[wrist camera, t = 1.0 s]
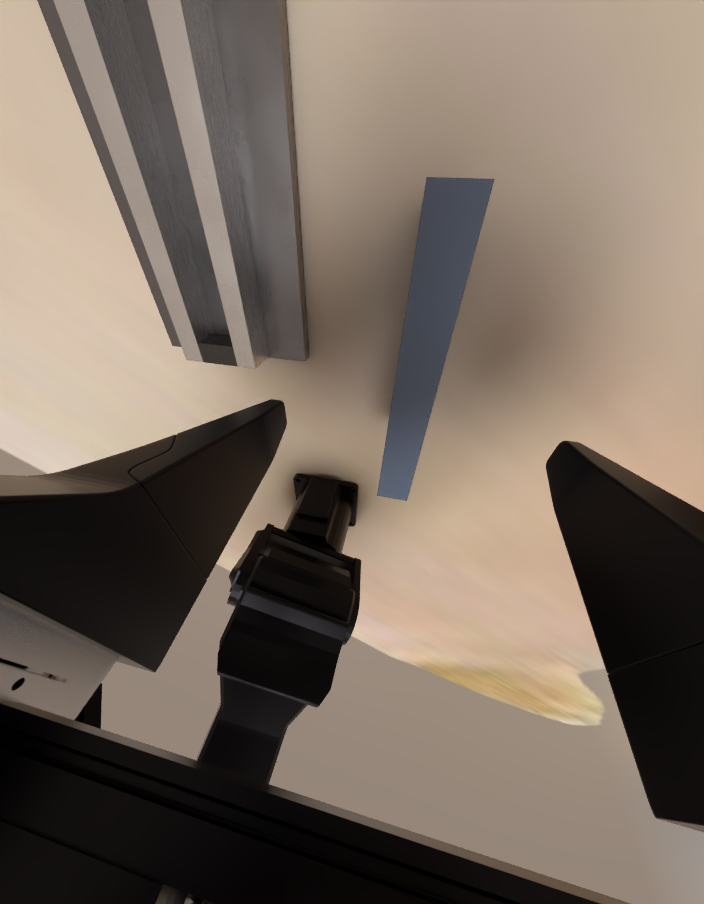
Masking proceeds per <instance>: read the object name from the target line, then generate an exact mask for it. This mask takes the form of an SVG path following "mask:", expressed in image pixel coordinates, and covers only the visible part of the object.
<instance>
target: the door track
mask: <svg viewBox="0 0 704 904" xmlns="http://www.w3.org/2000/svg"><path fill="white" fill-rule="evenodd" d="M38 3H39V6H40V8H41V11H42V13H43V16H44V18H45V21H46V23H47V26H48V29H49V31H50V34H51V36H52V39H53V41H54V44H55V46H56V49H57V52H58V54H59V57H60V59H61V62H62V64H63V67H64V69H65V72H66V75H67V77H68V80H69V82H70V85H71V87H72V90H73V92H74V95H75V98H76V100H77V103H78V105H79V108H80V110H81V113H82V115H83V118H84V121H85V123H86V126H87V128H88V131H89V133H90V136H91V139H92V141H93V144H94V146H95V149H96V151H97V154H98V156H99V159H100V162H101V164H102V167H103V169H104V172H105V174H106V177H107V179H108V182H109V185H110V187H111V190H112V192H113V195H114V197H115V200H116V202H117V205H118V208H119V210H120V213H121V215H122V218H123V220H124V223H125V225H126V228H127V231H128V233H129V236H130V238H131V241H132V243H133V246H134V248H135V251H136V254H137V256H138V259H139V261H140V264H141V266H142V269H143V271H144V274H145V277H146V279H147V282H148V284H149V287H150V289H151V292H152V294H153V297H154V300H155V302H156V305H157V307H158V310H159V312H160V315H161V317H162V320H163V323H164V325H165V328H166V330H167V333H168V335H169V338H170V340H171V343H172V346H179V347H182V349H183V352H184V354H185V357H186V360H191V361H199V362H207V363H215V364H223V365H231V366H239V367H247V368H257V367H258V366H259V365H260V364H261V363H263V362H264V361H265V360H266V359H267V358H269V357H271V358H280V359H288V360H297V361H306V360H307V359H308V358H309V349H308V334H307V318H306V303H305V288H304V273H303V257H302V242H301V227H300V212H299V196H298V181H297V166H296V151H295V135H294V120H293V105H292V90H291V74H290V59H289V44H288V28H287V13H286V0H38Z"/></svg>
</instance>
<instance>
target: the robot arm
mask: <svg viewBox="0 0 704 904" xmlns="http://www.w3.org/2000/svg"><path fill="white" fill-rule="evenodd" d="M286 425H287V420H286V413H285V406H284V403H283V402H282V401H280V400H273V399H271V400H268V401H265V402H263V403H260V404H257V405H254V406H252V407H249V408H246V409H244V410H241V411H238V412H235V413H233V414H230V415H227V416H224V417H222V418H219V419H216V420H214V421H211V422H208V423H205V424H203V425H200V426H197V427H194V428H192V429H189V430H186V431H184V432H181V433H178V434H177V435H173V436H170V437H167V438H164V439H162V440H159V441H156V442H153V443H150V444H147V445H145V446H141V447H138V448H135V449H132V450H129V451H126V452H123V453H120V454H116V455H113V456H110V457H107V458H104V459H100V460H97V461H94V462H91V463H88V464H84V465H81V466H78V467H75V468H71V469H68V470H64V471H61V472H56V473H51V474H44V475H35V476H11V475H0V904H630V903H627V902H624V901H621V900H618V899H615V898H612V897H609V896H606V895H603V894H600V893H597V892H594V891H591V890H588V889H585V888H582V887H579V886H576V885H573V884H570V883H567V882H563V881H561V880H557V879H554V878H551V877H548V876H545V875H542V874H539V873H536V872H533V871H530V870H527V869H524V868H521V867H518V866H515V865H512V864H509V863H506V862H503V861H499V860H497V859H494V858H490V857H488V856H485V855H482V854H479V853H476V852H473V851H469V850H466V849H463V848H460V847H457V846H454V845H451V844H448V843H445V842H442V841H439V840H436V839H433V838H430V837H427V836H424V835H421V834H418V833H415V832H412V831H409V830H406V829H402V828H400V827H397V826H393V825H390V824H388V823H384V822H381V821H378V820H375V819H372V818H369V817H366V816H363V815H360V814H357V813H354V812H351V811H348V810H345V809H342V808H339V807H336V806H333V805H330V804H327V803H324V802H321V801H318V800H315V799H312V798H309V797H306V796H303V795H300V794H296V793H293V792H290V791H287V790H284V789H281V788H278V787H275V786H272V785H269V781H270V778H271V775H272V772H273V769H274V766H275V763H276V760H277V756H278V754H279V750H280V747H281V744H282V741H283V738H284V735H285V733H286V730H287V727H288V726H289V724H290V723H291V722H292V721H293V720H294V719H295V718H296V717H297V716H298V715H299V714H300V713H301V712H302V710H303V709H304V708H305V707H306V706H307V705H311V706H313V707H318V706H319V705H320V704H321V703H322V701H323V700H324V698H325V697H326V695H327V694H328V692H329V691H330V689H331V685H332V681H333V677H334V672H335V668H336V664H337V660H338V657H339V653H340V650H341V647H342V645H345V644H346V643H347V641H348V640H349V638H350V636H351V634H352V632H353V629H354V626H355V623H356V620H357V615H358V610H359V601H360V573H361V560H360V559H357V558H352V557H349V556H347V555H344V554H342V550H343V546H344V541H345V537H346V533H347V529H348V526H355V523H356V513H357V501H358V489H359V488H358V486H357V485H356V484H352V483H347V482H341V481H335V480H329V479H324V478H318V477H312V476H307V475H301V474H296V475H295V477H294V479H293V480H294V487H295V494H296V500H297V501H296V503H295V506H294V508H293V510H292V512H291V514H290V516H289V519H288V521H287V523H286V525H285V527H284V529H283V530H281V529H279V528H276V527H274V525H272V524H269V523H268V524H267V526H266V528H265V530H259V531H257V532H256V534H255V536H254V538H253V539H252V541H251V543H250V545H249V546H248V548H247V550H246V551H245V552H244V554H243V555H242V557H241V558H240V559H239V561H238V562H237V564H236V565H235V566H234V568H233V569H232V571H231V573H230V575H229V579H230V582H231V585H232V586H231V588H230V592H231V593H230V596H229V598H228V601H227V604H229V605H232V606H235V609H234V611H233V613H232V616H231V618H230V620H229V622H228V624H227V626H226V628H225V631H224V633H223V635H222V637H221V640H220V645H219V646H220V649H219V652H218V666H217V674H218V675H220V686H221V687H220V688H221V703H220V705H219V708H218V710H217V712H216V715H215V717H214V719H213V722H212V724H211V726H210V729H209V731H208V733H207V736H206V738H205V740H204V743H203V745H202V747H201V750H200V752H199V755H198V757H197V759H196V760H193V759H190V758H187V757H184V756H181V755H178V754H175V753H172V752H169V751H166V750H163V749H160V748H156V747H154V746H151V745H148V744H145V743H141V742H139V741H135V740H133V739H130V738H127V737H123V736H120V735H117V734H114V733H111V732H108V731H105V730H102V729H101V699H102V684H101V682H102V680H103V679H104V678H105V676H106V675H107V673H108V672H109V671H110V669H111V668H112V666H113V665H114V664H115V662H116V661H117V662H121V663H124V664H127V665H131V666H134V667H138V668H141V669H145V670H148V671H152V672H156V670H157V669H158V667H159V666H160V664H161V662H162V661H163V659H164V657H165V655H166V653H167V652H168V650H169V648H170V646H171V644H172V642H173V640H174V639H175V637H176V635H177V633H178V632H179V630H180V628H181V626H182V624H183V623H184V621H185V619H186V617H187V615H188V614H189V612H190V610H191V608H192V606H193V604H194V602H195V601H196V599H197V597H198V595H199V594H200V592H201V590H202V588H203V586H204V585H205V583H206V581H207V578H208V577H209V575H210V573H211V571H212V570H213V568H214V566H215V564H216V562H217V561H218V559H219V557H220V555H221V553H222V552H223V550H224V548H225V546H226V544H227V543H228V541H229V539H230V537H231V535H232V533H233V532H234V530H235V528H236V526H237V524H238V523H239V521H240V519H241V517H242V515H243V514H244V512H245V510H246V508H247V506H248V504H249V503H250V501H251V499H252V497H253V495H254V494H255V492H256V490H257V488H258V486H259V485H260V483H261V481H262V479H263V477H264V476H265V474H266V472H267V470H268V468H269V466H270V465H271V463H272V461H273V458H274V456H275V454H276V451H277V449H278V446H279V444H280V441H281V439H282V436H283V434H284V431H285V429H286ZM546 470H547V476H548V481H549V486H550V492H551V497H552V502H553V507H554V511H555V514H556V517H557V520H558V524H559V527H560V530H561V533H562V536H563V539H564V542H565V545H566V548H567V551H568V554H569V557H570V560H571V564H572V567H573V570H574V573H575V576H576V579H577V582H578V585H579V588H580V591H581V594H582V597H583V601H584V604H585V607H586V610H587V613H588V616H589V619H590V622H591V625H592V628H593V631H594V634H595V637H596V641H597V644H598V647H599V650H600V653H601V656H602V659H603V662H604V665H605V668H606V671H607V673H608V678H609V681H610V684H611V687H612V690H613V693H614V697H615V700H616V702H617V706H618V709H619V712H620V715H621V718H622V721H623V724H624V728H625V730H626V733H627V737H628V740H629V743H630V746H631V749H632V752H633V755H634V758H635V762H636V765H637V768H638V771H639V774H640V777H641V780H642V783H643V786H644V789H645V792H646V795H647V799H648V801H649V804H650V807H651V809H652V811H653V814H654V816H655V817H656V818H657V819H660V820H664V821H667V822H670V823H674V824H677V825H681V826H684V827H688V828H691V829H695V830H698V831H701V832H704V512H702V511H701V510H699V509H697V508H695V507H694V506H692V505H690V504H688V503H686V502H685V501H683V500H681V499H679V498H677V497H676V496H674V495H672V494H670V493H668V492H667V491H665V490H663V489H661V488H660V487H658V486H656V485H654V484H652V483H651V482H649V481H647V480H645V479H643V478H642V477H640V476H638V475H636V474H634V473H633V472H631V471H629V470H627V469H626V468H624V467H622V466H620V465H618V464H617V463H615V462H613V461H611V460H609V459H608V458H606V457H604V456H602V455H600V454H599V453H597V452H595V451H593V450H592V449H590V448H588V447H586V446H584V445H583V444H581V443H578V442H572V441H562V442H561V443H559V445H558V446H557V447H556V449H555V450H554V452H553V453H552V455H551V456H550V457H549V459H548V461H547V463H546ZM352 488H353V489H352Z"/></svg>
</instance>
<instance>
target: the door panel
mask: <svg viewBox="0 0 704 904" xmlns="http://www.w3.org/2000/svg"><path fill="white" fill-rule="evenodd" d="M493 183H494V179H473V178H436V177H427V179H426V185H425V191H424V198H423V204H422V211H421V217H420V224H419V230H418V236H417V243H416V249H415V256H414V262H413V269H412V275H411V281H410V288H409V294H408V301H407V307H406V314H405V320H404V326H403V333H402V339H401V346H400V352H399V358H398V365H397V371H396V378H395V384H394V391H393V397H392V403H391V410H390V416H389V423H388V429H387V436H386V442H385V448H384V455H383V461H382V468H381V474H380V481H379V487H378V493H377V496H383V497H388V498H394V499H399V500H405V501H407V499H408V495H409V491H410V488H411V484H412V480H413V477H414V473H415V469H416V466H417V462H418V458H419V455H420V451H421V447H422V443H423V440H424V436H425V432H426V429H427V425H428V421H429V418H430V414H431V410H432V407H433V403H434V399H435V396H436V392H437V388H438V385H439V381H440V377H441V374H442V370H443V366H444V363H445V359H446V355H447V352H448V348H449V344H450V341H451V337H452V333H453V330H454V326H455V322H456V319H457V315H458V311H459V308H460V304H461V300H462V297H463V293H464V289H465V286H466V282H467V278H468V275H469V271H470V267H471V263H472V260H473V256H474V252H475V249H476V245H477V241H478V238H479V234H480V230H481V227H482V223H483V219H484V216H485V212H486V208H487V205H488V201H489V197H490V194H491V190H492V186H493Z"/></svg>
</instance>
